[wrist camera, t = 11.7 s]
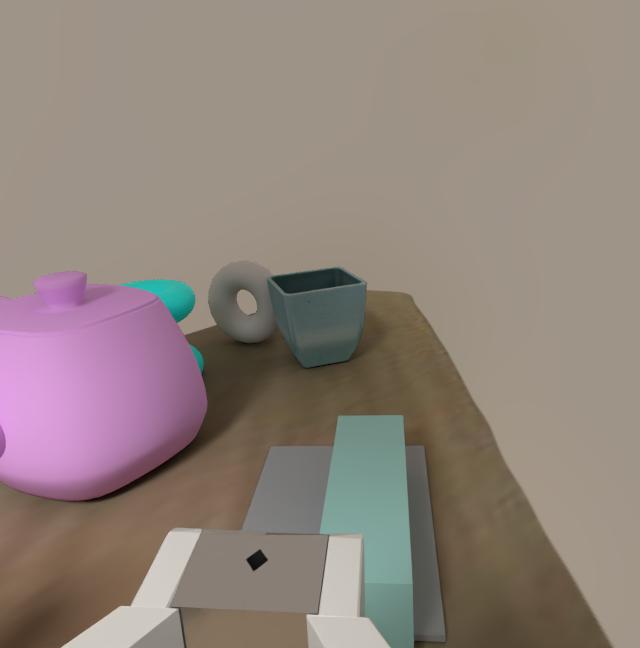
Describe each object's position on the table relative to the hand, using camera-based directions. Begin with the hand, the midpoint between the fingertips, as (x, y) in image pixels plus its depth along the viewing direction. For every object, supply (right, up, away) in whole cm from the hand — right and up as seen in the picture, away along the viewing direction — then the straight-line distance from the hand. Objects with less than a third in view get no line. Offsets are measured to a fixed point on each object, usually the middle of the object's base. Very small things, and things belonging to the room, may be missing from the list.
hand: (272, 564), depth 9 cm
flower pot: (+1, 0, +57) cm, 57 cm away
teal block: (+3, -10, +18) cm, 21 cm away
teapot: (-18, -7, +39) cm, 44 cm away
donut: (-8, +1, +63) cm, 63 cm away
